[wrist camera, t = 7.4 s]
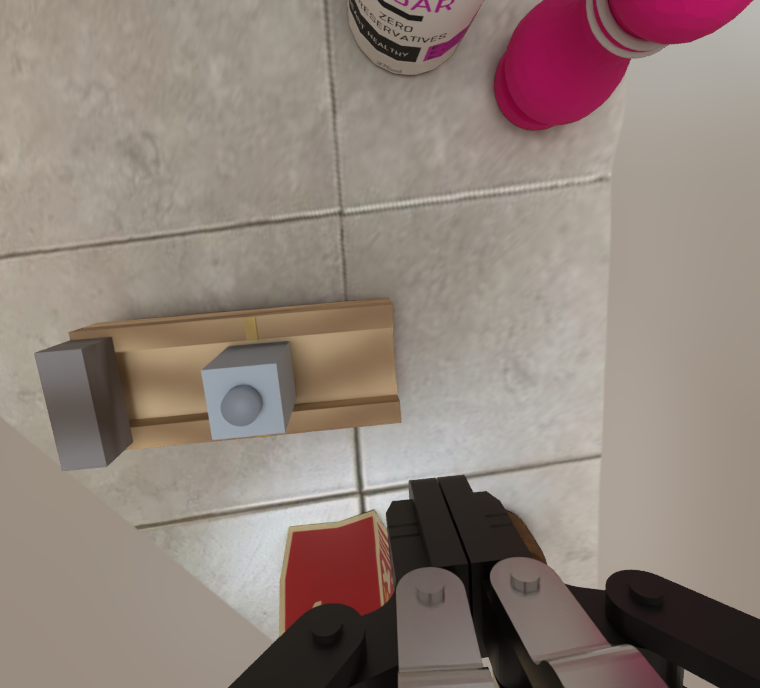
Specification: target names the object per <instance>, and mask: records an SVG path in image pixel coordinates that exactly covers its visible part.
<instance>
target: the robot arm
mask: <svg viewBox="0 0 760 688" xmlns="http://www.w3.org/2000/svg"><path fill="white" fill-rule="evenodd" d="M386 520H387V532H388V545H389V557H390V567H391V574H392V582H393V589H394V593H393V595H392V596H391V598H390V599H389V600H388V601H387V602H386V603H385V604H384V605H383V606H381V607H380V608H378V609H377V610H375V611H372V612H370V613H368V614H365V615H363V616H361V615H360V614H359V612H358V611H356V610H355V609H354V608H352V607H350V606H348V605H345V604H340V603H328V604H323V605H319V606H316V607H314V608H312V609H310V610H308V611H307V612H305V613H304V614H303V615H302V616H300V617H299V618H298V619H297V620H296V621H295V622H294V623H293V624H292V625H291V626H290V627H289V628H288V629H287V630H286V631H285V632H284V633H283V634H282V635H281V636H280V637H279V638H278V639H277V640H276V641H275V642H274V643H273V644H272V645H271V646H270V647H269V648H268V649H267V650H266V651H265V652H264V653H263V654H262V655H261V656H260V657H259V658H258V659H257V660H256V661H255V662H254V663H253V664H252V665H251V666H250V667H249V668H248V669H247V670H246V671H244V672H243V673H242V674H241V676H240V677H238V678H237V679H236V680H235V681H234V682H233V683H232V684H231V685H230V686H229V687H228V688H686V687H685V686H683V677H684V669H686V670H687V671H689V672H691V673H693V674H695V675H697V676H699V677H700V678H702V679H704V680H706V681H708V682H710V683H712V684H713V685H715V686H717V687H719V688H760V619H758V618H755V617H753V616H751V615H748V614H746V613H744V612H742V611H739V610H737V609H735V608H732V607H729V606H728V605H725V604H723V603H721V602H718V601H716V600H714V599H711V598H709V597H707V596H704V595H702V594H700V593H697V592H695V591H693V590H691V589H688V588H686V587H684V586H681V585H679V584H677V583H674V582H672V581H670V580H667V579H664V578H663V577H660V576H658V575H655V574H653V573H649V572H645V571H640V570H623V571H619V572H616V573H614V574H612V575H611V576H610V577H609V578H608V579H607V581H606V589H605V590H598V589H590V588H582V587H576V586H571V585H568V584H565V583H563V581H562V580H561V579H560V577H559V576H558V575H557V573H556V572H555V571H554V570H553V569H552V568H551V567H549V566H548V565H546V564H544V563H542V562H540V561H538V560H535V559H534V558H533V556H532V555H531V553H530V551H529V549H528V548H527V546H526V544H525V543H524V541H523V539H522V538H521V536H520V534H519V532H518V531H517V529H516V527H515V526H513V522H512V520H511V519H510V517H509V515H507V512H506V510H505V509H504V507H503V505H502V503H501V502H500V501H499V500H498V499H497V498H495V497H494V496H492V495H491V494H489V493H488V492H487V491H484V492H474V493H473V491H472V489H471V487H470V485H469V483H468V481H467V479H466V477H465V476H464V475H456V476H447V477H437V480H436V478H428V479H419V480H409V500H400V501H392V503H391V505H390V507H389V508H388V510H387V512H386ZM485 657H489V660H490V663H491V665H492V669H493V679H492V676H491V672H490V670H489V668H488V667H483V664H482V660H481V658H485Z"/></svg>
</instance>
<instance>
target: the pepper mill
mask: <svg viewBox="0 0 760 688" xmlns="http://www.w3.org/2000/svg"><path fill="white" fill-rule="evenodd" d="M752 1H753V0H543V1H542V2H541V3H539V4H538V5H537V6H535V7H534V8H533V9H532V10H531V11H530V12H529V13H528V14H527V15H526V16H525V17H524V18H523V19H522V20H521V21H520V23H519V24H518V26H517V27H516V29H515V31H514V33H513V35H512V37H511V39H510V42H509V44H508V47H507V51H506V52H505V54H504V55H503V57H502V58H501V60H500V62H499V64H498V67H497V70H496V75H495V81H494V89H495V96H496V100H497V103H498V105H499V107H500V109H501V111H502V112H503V114H504V115H505V116H506V117H507V119H508V120H509V121H511V122H512V123H513V124H515V125H516V126H518V127H521V128H523V129H527V130H543V129H547V128H550V127H552V126H554V125H563V124H568V123H572V122H575V121H578V120H580V119H582V118H584V117H586V116H587V115H589V114H590V113H591V112H593V111H594V110H595V109H597V108H598V107H599V106H601V105H602V104H603V103H604V102H605V101H606V100H607V99H608V98H609V97H610V95H611V94H612V93H613V91H614V90H615V89H616V87H617V86H618V84H619V83H620V82H621V80H622V78H623V76H624V74H625V72H626V70H627V67H628V65H629V62H630V60H631V58H642V57H646V56H650V55H653V54H655V53H657V52H659V51H660V50H662V49H663V48H665V47H666V46H668V45H669V44H679V43H688V42H692V41H694V40H697V39H699V38H702V37H704V36H706V35H708V34H711V33H713V32H715V31H716V30H718V29H719V28H721V27H722V26H724V25H725V24H727V23H728V22H730V21H731V20H733V19H734V18H735V17H736V16H737V15H738V14H740V13H741V12H742V11H743V10H744V9H745V8H746V7H747V6H748V5H749V4H750V3H751V2H752Z"/></svg>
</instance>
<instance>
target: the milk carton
mask: <svg viewBox="0 0 760 688" xmlns="http://www.w3.org/2000/svg"><path fill="white" fill-rule="evenodd" d="M393 593H394V589H393V582H392V574H391V567H390V557H389V545H388V532H387V530H386V528H385V527H384V525H383V524H382V522H381V520H380V519H379V517H378V516H377V514H376V512H375V511H374V510H373V511H370V512H367V513H364V514H361V515H358V516H355V517H352V518H350V519H347V520H344V521H341V522H333V523H323V524H312V525H301V526H291V527H289V530H288V536H287V542H286V548H285V554H284V560H283V566H282V572H281V578H280V609H279V637H280V636H281V635H282V634H283V633H284V632H285V631H286V630H287V629H288V628H289V627H290V626H291V625H292V624H293V623H294V622H295V621H296V620H297V619H298V618H299V617H300V616H302V615H303V614H304V613H305V612H307V611H308V610H310V609H312V608H314V607H316V606H319V605H323V604H328V603H340V604H345V605H348V606H350V607H352V608H354V609H355V610H356V611H358V612H359V614H360V615H361V616H363V615H365V614H368V613H370V612H372V611H375V610H377V609H378V608H380V607H381V606H383V605H384V604H385V603H386V602H387V601H388V600H389V599H390V598H391V596H392V595H393Z"/></svg>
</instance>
